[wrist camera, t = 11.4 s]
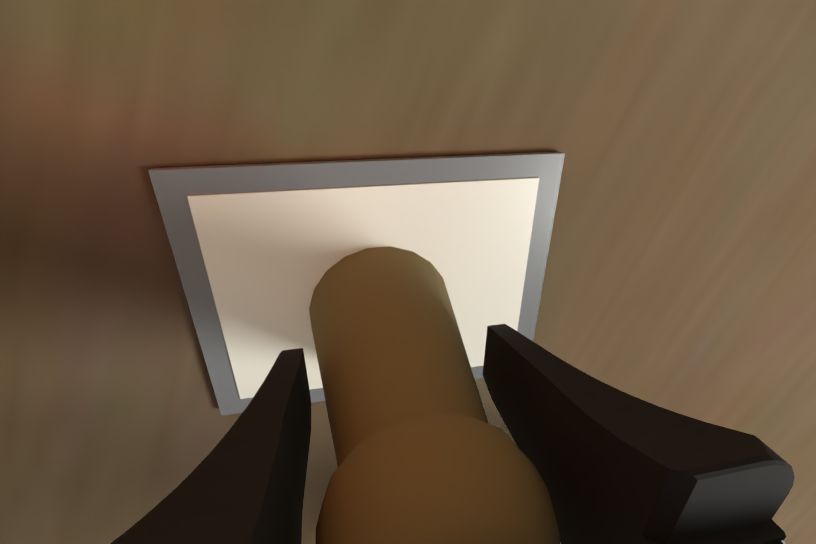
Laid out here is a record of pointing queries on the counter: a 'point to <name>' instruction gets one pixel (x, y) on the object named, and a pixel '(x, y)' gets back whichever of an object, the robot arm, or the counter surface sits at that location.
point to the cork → (412, 417)
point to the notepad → (350, 247)
